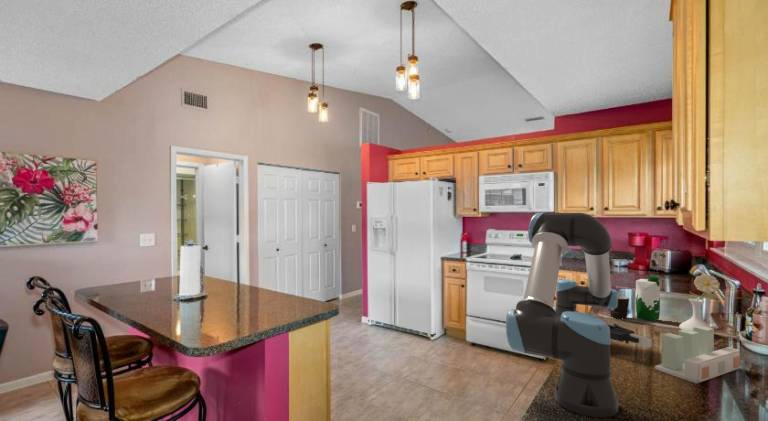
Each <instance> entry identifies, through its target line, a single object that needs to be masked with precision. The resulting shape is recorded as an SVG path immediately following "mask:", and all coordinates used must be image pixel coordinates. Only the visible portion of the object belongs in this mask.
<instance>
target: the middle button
mask: <svg viewBox="0 0 768 421" xmlns="http://www.w3.org/2000/svg"><path fill="white" fill-rule="evenodd" d="M677 335H679V336H682V337H683V362H684V363H685V360H686V359H690V358H693V357H696V356H699V333H698V332H694V331H690V330H687V329H683V330H681V329H680V330H678V331H677Z"/></svg>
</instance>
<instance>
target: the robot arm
mask: <svg viewBox="0 0 768 421" xmlns="http://www.w3.org/2000/svg"><path fill="white" fill-rule="evenodd" d="M527 231H528V234H527V236H528V241H529V242H530V244H531V245H532V247H533V248H534V250H533V255H532V259H531V264H530V268H529V273H528V277H527V282H526V286H525V290H524V294H523V299H521V300H519V301H518V302H517V303H516V305H515V309H514V308H509V309H508V311H507V313H506V317H505V318H506V319H505V331H506V332H505V333H506V334H505V335H506V338H507V339H506V340H507V343H508V346H509V347H510V349H512V350H513V351H516V352H520V353H523V354H529V355H534V356H538V357H544V358H549V359H554V360H559V361H561V371H560V373H559V376H558V378H557V381H556V384H555V387H554V398H555V401H556V402H557V403H558V404H559V405H560V406H561V407H563V408H564V409H567V410H568V411H570V412H573V413H576V414H579V415H582V416H586V417H591V418H610V417H613V416H616V415H618V414H617V413H618V412H619V399H618V397H617V395H616V391H615V389H614V385H613V382H612V379H611V378H612V377H611V345H612V340H615V341H618V342H621V343H623V342H624V341H625V344H629V342H630V343H633V344H634V345H635V344H636V345H639V346H642V347H645V348H648V349H651V348H652V347H653V344H652V342H653V340H652V338H648V337H646V336H642V335H639V334H636V333H635V331H634V330H631V329H628V328H625V327H624V326H620V325H618V324H617V323H613V324H609V323H607V322H606V321H605V320H603V319H601V318H599V316H595V315H591V314H588V313H585V312H581V311H577V305H580V306H581V305H582V306H590V307H596V308H603V309H610V308H613V309H614V308H617V305H618V295H619V293H618V291H617V290H616V289H613V288H612V283H611V282H612V280H611V268H610V265H611V264H610V251H611V250H612V246H613V244H612V237H611V235H610V232H609V231H608V229H607V228H606V226H605V225H604V224H603V223H602V222H601V221H600V220H598V219H597V218H596V217H594V215H593V216H592V215H590V214H587V213H585V212H549V211H546V212H537V213H535V214H534V215H533V216H532V217H531V219H530V222H529V225H528V230H527ZM568 247H580V249H581V250H582V252H583V253H584V257H585V258H584V260H585V266H586V273H587V280H588V281H587V282H588V286H584V285H578V283H577V281H576V280H573V279H568V278H567V279H566V278H562V279H561V278H560V279H559V271H560V266H561V260H562V255H564V254H565V253H566V252H567V251H568ZM555 298H556V300H555ZM554 301H556V303H555V305H554Z"/></svg>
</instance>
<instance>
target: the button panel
mask: <svg viewBox="0 0 768 421" xmlns="http://www.w3.org/2000/svg"><path fill="white" fill-rule="evenodd" d="M737 352H738V353H739V356H740V357H741V355H740V352H741V350H740V349H738V348H733V347H729V346H727V347H724V348H720V349H717V350H714V351H713V352H710V353H706V354H703V355H700V356H696V357H693V358H690V359H686V360H685V363H684V362H683V368H681V369H678V370H674V369H671V368H668V367H665V366H662V363H660V364H657V365H654V369H655V370H657V371H660V372H663V373H665V374H668V375H671V376H674V377H677V378H679V379H683V380H685V381H688V382H690V383H693V384H699V383H702V382H704V381H702V382H700V381H699V364H702V363H706V362H709V361H712V360H715V359H718V358H721V357H725V356H728V355H731V354H734V353H737ZM740 368H741V365H740V366H739V369H740ZM736 370H738V369H736ZM736 370H733V371H736ZM733 371H732V372H733ZM720 376H721V375H719V376H716V377H720ZM716 377H713V378H712V379H714V378H716Z"/></svg>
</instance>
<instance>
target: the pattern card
mask: <svg viewBox="0 0 768 421" xmlns="http://www.w3.org/2000/svg"><path fill="white" fill-rule="evenodd" d="M739 366H740V367H741V355H740V356H739V353H738V352H737V353H734V354H731V355H728V356H725V357H721V358H718V359H715V360H712V361H709V362H706V363H702V364H699V381H700V383H702V381H703V382H705V381H709V380H711V379H714V378H716V376H717V377H720V376H722V375H725V374H728V373H730V372H733V370H734V371H736V369H737V370H740V368H739ZM719 375H720V376H719ZM713 377H714V378H713Z"/></svg>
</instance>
